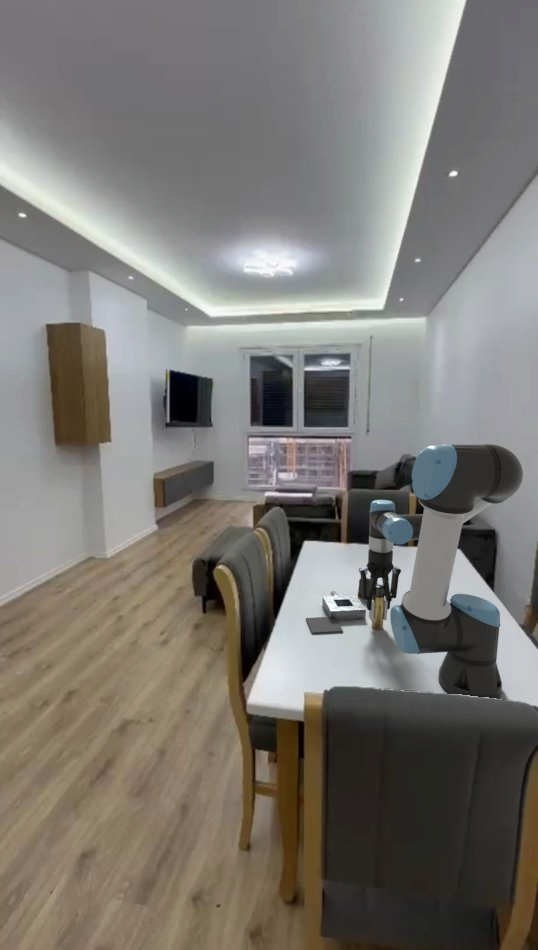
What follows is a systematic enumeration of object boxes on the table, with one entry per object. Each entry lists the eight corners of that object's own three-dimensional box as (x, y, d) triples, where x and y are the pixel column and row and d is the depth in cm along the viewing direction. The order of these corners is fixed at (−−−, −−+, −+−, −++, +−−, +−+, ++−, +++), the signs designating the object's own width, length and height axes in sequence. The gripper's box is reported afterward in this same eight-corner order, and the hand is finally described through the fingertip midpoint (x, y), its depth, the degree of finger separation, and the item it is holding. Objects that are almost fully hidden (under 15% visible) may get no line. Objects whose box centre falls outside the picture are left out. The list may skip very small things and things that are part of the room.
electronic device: (379, 605, 171) (379, 585, 170) (356, 597, 178) (357, 578, 177) (385, 601, 174) (386, 582, 173) (363, 594, 181) (364, 575, 180)
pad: (342, 632, 151) (343, 630, 150) (312, 634, 149) (312, 632, 149) (334, 618, 160) (335, 616, 160) (305, 619, 159) (305, 617, 159)
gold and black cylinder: (384, 629, 152) (386, 588, 150) (373, 630, 152) (375, 589, 150) (380, 624, 156) (382, 584, 154) (370, 625, 155) (371, 584, 153)
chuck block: (365, 619, 160) (365, 609, 159) (330, 621, 158) (330, 611, 158) (348, 595, 179) (348, 586, 179) (317, 596, 178) (317, 587, 177)
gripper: (401, 544, 154) (397, 612, 158) (351, 546, 152) (349, 614, 156) (410, 551, 147) (407, 622, 151) (358, 553, 145) (356, 625, 149)
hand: (377, 618), depth 153 cm, fingers closed on gold and black cylinder, 4 cm apart
